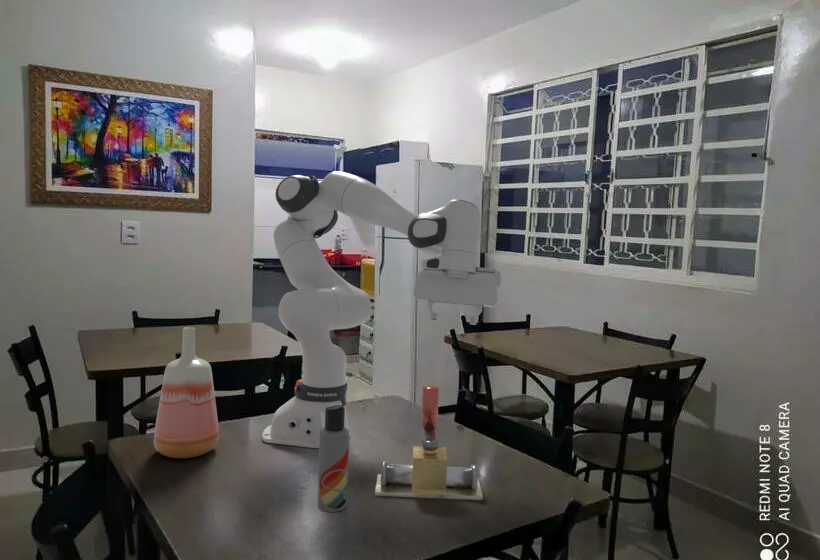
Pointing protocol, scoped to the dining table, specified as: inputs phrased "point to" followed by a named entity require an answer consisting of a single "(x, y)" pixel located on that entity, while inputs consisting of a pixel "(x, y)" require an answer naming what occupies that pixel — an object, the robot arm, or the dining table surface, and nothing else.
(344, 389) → the robot arm
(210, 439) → the vase
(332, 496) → the lotion bottle
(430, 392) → the lever
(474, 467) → the pipe valve
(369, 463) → the dining table surface
